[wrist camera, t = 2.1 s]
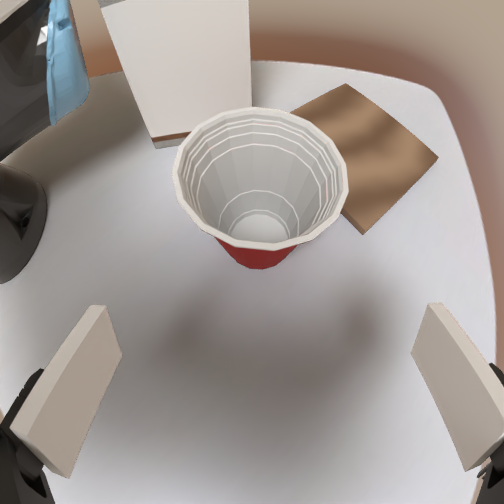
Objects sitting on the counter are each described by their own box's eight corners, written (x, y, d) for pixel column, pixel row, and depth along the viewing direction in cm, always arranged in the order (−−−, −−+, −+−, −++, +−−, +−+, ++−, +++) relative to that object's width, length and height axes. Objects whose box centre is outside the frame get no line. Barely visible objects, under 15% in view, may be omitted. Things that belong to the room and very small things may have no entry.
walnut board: (257, 137, 33) (257, 131, 32) (344, 88, 36) (345, 83, 35) (362, 235, 28) (365, 230, 28) (435, 162, 32) (438, 157, 31)
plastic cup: (328, 289, 27) (373, 236, 15) (207, 303, 27) (170, 258, 15) (306, 186, 31) (327, 99, 19) (201, 197, 30) (174, 112, 19)
